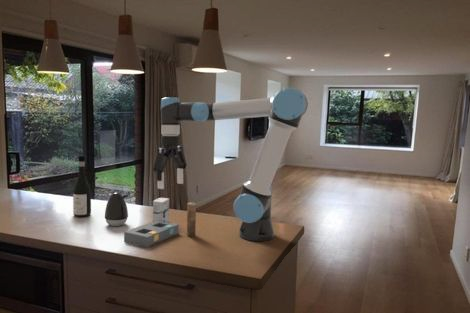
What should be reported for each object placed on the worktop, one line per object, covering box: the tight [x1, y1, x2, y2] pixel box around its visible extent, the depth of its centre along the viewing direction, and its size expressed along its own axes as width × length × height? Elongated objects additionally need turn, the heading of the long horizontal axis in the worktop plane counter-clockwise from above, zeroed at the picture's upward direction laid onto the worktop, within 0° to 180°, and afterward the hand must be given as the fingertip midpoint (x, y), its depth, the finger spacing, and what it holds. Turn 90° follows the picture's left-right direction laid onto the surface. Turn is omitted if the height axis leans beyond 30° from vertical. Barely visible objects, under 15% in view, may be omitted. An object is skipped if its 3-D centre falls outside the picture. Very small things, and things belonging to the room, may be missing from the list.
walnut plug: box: [186, 202, 197, 237], centre depth 158 cm, size 4×4×14 cm
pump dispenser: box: [104, 191, 129, 227], centre depth 170 cm, size 10×10×15 cm
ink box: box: [152, 197, 170, 223], centre depth 173 cm, size 8×5×12 cm, turn 168°
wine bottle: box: [72, 154, 92, 218], centre depth 182 cm, size 8×8×30 cm
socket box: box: [123, 220, 179, 248], centre depth 154 cm, size 12×20×4 cm, turn 153°
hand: (170, 186), depth 155 cm, fingers open, 13 cm apart
